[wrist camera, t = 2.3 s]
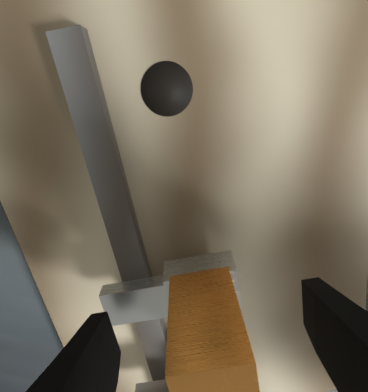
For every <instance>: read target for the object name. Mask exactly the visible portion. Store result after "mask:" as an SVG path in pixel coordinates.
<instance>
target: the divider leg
mask: <svg viewBox="0 0 368 392" xmlns="http://www.w3.org/2000/svg"><path fill="white" fill-rule="evenodd" d="M99 299H100V302H101V305H102V307H103V310H104V312H106V311H107V313H108V315H109V318H110V321H111V324H112V326H116V325H123V324H129V323H135V322H141V321H148V320H154V319H160V318H166V317H168V321H167V343H166V365H165V379H166V382H167V386H168V390H169V392H260V391H259V383H258V376H257V368H256V362H255V358H254V355H253V351H252V348H251V344H250V341H249V337H248V334H247V330H246V327H245V323H244V316H243V308H242V301H241V294H240V287H239V280H238V273H237V268H236V265H235V262H234V259H233V256H232V253H231V250H228V251H222V252H216V253H210V254H204V255H198V256H192V257H187V258H181V259H175V260H169V261H164V272H163V275H161V276H155V277H149V278H143V279H137V280H131V281H125V282H119V283H113V284H107V285H103V286H102V289H101V291H100V294H99Z"/></svg>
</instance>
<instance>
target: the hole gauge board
mask: <svg viewBox="0 0 368 392" xmlns="http://www.w3.org/2000/svg"><path fill="white" fill-rule="evenodd" d="M0 201H1V204H2V206H3V208H4V211H5V213H6V215H7V218H8V220H9V222H10V225H11V227H12V229H13V231H14V234H15V236H16V238H17V241H18V243H19V245H20V248H21V250H22V252H23V255H24V257H25V259H26V261H27V264H28V266H29V268H30V271H31V273H32V275H33V278H34V280H35V282H36V285H37V287H38V289H39V291H40V294H41V296H42V298H43V301H44V303H45V305H46V308H47V310H48V312H49V315H50V317H51V319H52V321H53V324H54V326H55V328H56V331H57V333H58V335H59V338H60V340H61V342H62V345H63V347H65V346H66V344H67V343H68V342H69V341H70V339H71V338H72V337H73V336H74V334H75V333H76V332H77V331H78V329H79V328H80V327H81V326H82V325H83V323H84V322H85V321H86V320H87V318H88V317H89V316H90V315H91V314H94V313H100V312H104V310H103V307H102V305H101V302H100V299H99V294H100V291H101V289H102V286H103V285H107V284H113V283H119V282H125V281H131V280H137V279H143V278H149V277H155V276H161V275H163V272H164V261H169V260H175V259H181V258H187V257H192V256H198V255H204V254H210V253H216V252H222V251H228V250H231V253H232V256H233V259H234V262H235V265H236V268H237V273H238V280H239V287H240V294H241V301H242V308H243V316H244V323H245V327H246V330H247V334H248V337H249V341H250V344H251V348H252V351H253V355H254V358H255V362H256V368H257V376H258V383H259V391H260V392H325V391H332V390H337V389H336V387H335V386H334V384H333V382H332V380H331V379H330V377H329V375H328V373H327V372H326V370H325V368H324V366H323V364H322V363H321V361H320V359H319V357H318V355H317V354H316V352H315V350H314V347H313V345H312V343H311V341H310V338H309V336H308V333H307V331H306V329H305V326H304V324H303V304H302V284H301V280H304V279H310V278H316V277H319V278H320V279H322V280H323V281H325V282H326V283H327V284H329V285H330V286H332V287H333V288H334V289H336V290H337V291H339V292H340V293H342V294H343V295H344V296H346V297H347V298H349V299H350V300H351V301H353V302H354V303H356V304H357V305H359V306H360V307H362V308H363V309H365V310H366V300H367V278H368V0H0ZM167 321H168V317H166V318H160V319H154V320H148V321H141V322H135V323H129V324H123V325H116V326H112V327H113V330H114V333H115V336H116V339H117V342H118V344H119V347H120V350H121V359H120V369H119V377H118V384H117V388H116V392H169V390H168V386H167V382H166V379H165V365H166V343H167Z"/></svg>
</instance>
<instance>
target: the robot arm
mask: <svg viewBox="0 0 368 392" xmlns="http://www.w3.org/2000/svg"><path fill="white" fill-rule="evenodd" d="M301 284H302V304H303V324H304V326H305V329H306V331H307V333H308V336H309V338H310V341H311V343H312V345H313V347H314V350H315V352H316V354H317V355H318V357H319V359H320V361H321V363H322V364H323V366H324V368H325V370H326V372H327V373H328V375H329V377H330V379H331V380H332V382H333V384H334V386H335V387H336V389H337V391H338V392H368V311H366V310H365V309H363V308H362V307H360V306H359V305H357V304H356V303H354V302H353V301H351V300H350V299H349V298H347V297H346V296H344V295H343V294H342V293H340V292H339V291H337V290H336V289H334V288H333V287H332V286H330V285H329V284H327V283H326V282H325V281H323V280H322V279H320V278H319V277H316V278H310V279H304V280H301ZM120 359H121V350H120V347H119V344H118V342H117V339H116V336H115V333H114V330H113V327H112V324H111V321H110V318H109V315H108V313H107V311H106V312H100V313H94V314H91V315H90V316H89V317H88V318H87V320H86V321H85V322H84V323H83V325H82V326H81V327H80V328H79V329H78V331H77V332H76V333H75V334H74V336H73V337H72V338H71V339H70V341H69V342H68V343H67V344H66V346H65V347H64V348H63V349H62V350H61V352H60V353H59V354H58V355H57V357H56V358H55V359H54V360H53V361H52V363H51V364H50V365H49V366H48V367H47V368H46V369H45V371H44V372H43V373H42V374H41V375H40V376H39V377H38V378H37V380H36V381H35V382H34V383H33V384H32V385H31V386H30V387H29V389H28V390H27V391H26V392H116V388H117V384H118V377H119V369H120Z"/></svg>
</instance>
